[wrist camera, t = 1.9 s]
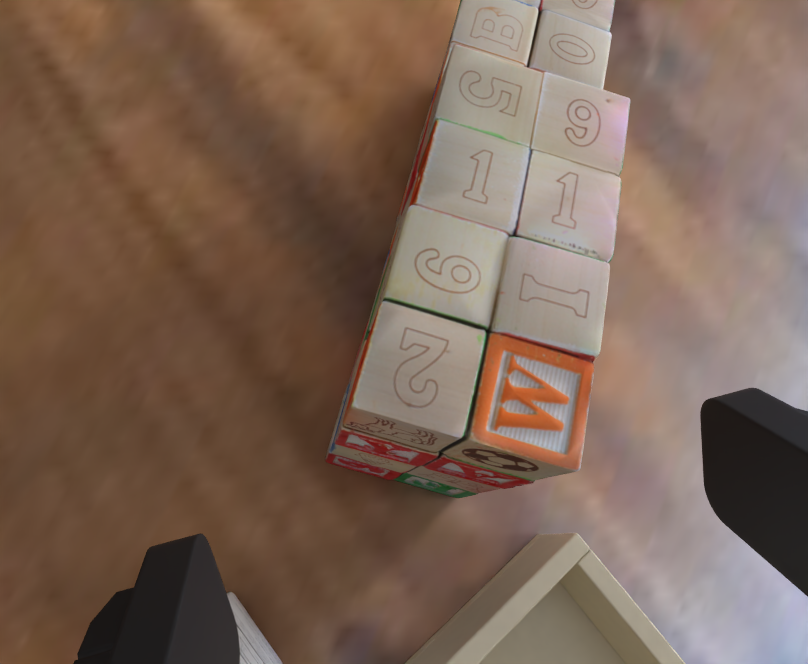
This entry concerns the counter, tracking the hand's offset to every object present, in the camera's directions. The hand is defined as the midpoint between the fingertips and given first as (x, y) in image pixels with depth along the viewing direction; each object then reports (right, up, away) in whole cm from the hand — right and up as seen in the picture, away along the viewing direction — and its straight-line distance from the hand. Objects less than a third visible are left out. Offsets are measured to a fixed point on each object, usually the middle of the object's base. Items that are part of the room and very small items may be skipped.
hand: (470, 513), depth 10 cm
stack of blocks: (+1, +6, +21) cm, 22 cm away
